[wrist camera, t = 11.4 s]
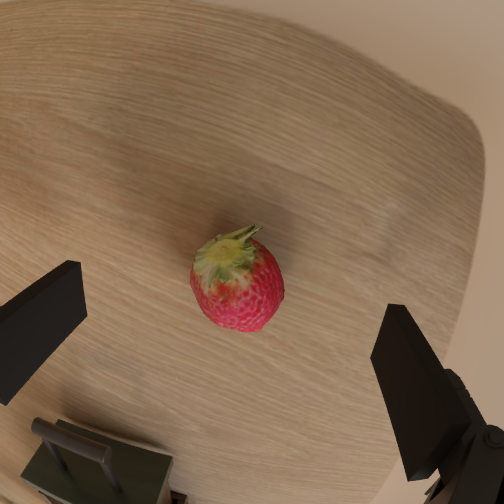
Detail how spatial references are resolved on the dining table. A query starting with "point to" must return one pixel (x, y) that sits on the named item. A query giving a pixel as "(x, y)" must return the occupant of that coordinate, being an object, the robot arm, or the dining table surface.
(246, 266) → the fruit
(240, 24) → the dining table surface
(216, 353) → the dining table surface
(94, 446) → the drawer
